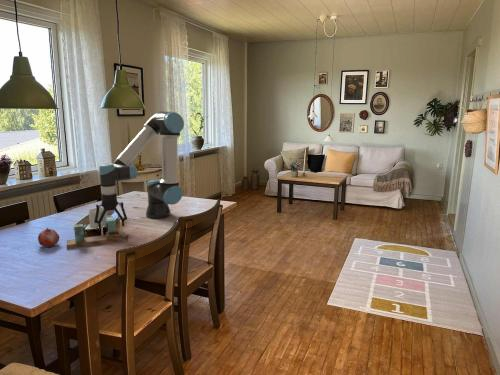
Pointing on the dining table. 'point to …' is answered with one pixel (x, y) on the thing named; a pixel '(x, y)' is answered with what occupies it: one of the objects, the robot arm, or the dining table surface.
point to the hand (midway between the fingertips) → (112, 233)
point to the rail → (93, 238)
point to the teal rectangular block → (111, 225)
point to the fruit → (48, 238)
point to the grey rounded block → (92, 217)
